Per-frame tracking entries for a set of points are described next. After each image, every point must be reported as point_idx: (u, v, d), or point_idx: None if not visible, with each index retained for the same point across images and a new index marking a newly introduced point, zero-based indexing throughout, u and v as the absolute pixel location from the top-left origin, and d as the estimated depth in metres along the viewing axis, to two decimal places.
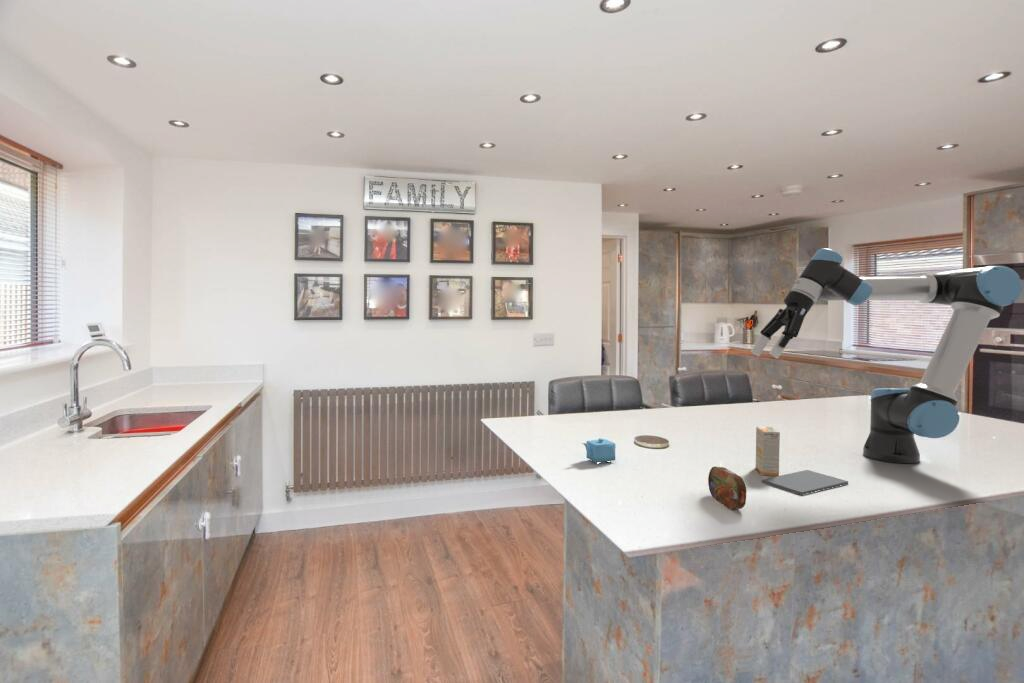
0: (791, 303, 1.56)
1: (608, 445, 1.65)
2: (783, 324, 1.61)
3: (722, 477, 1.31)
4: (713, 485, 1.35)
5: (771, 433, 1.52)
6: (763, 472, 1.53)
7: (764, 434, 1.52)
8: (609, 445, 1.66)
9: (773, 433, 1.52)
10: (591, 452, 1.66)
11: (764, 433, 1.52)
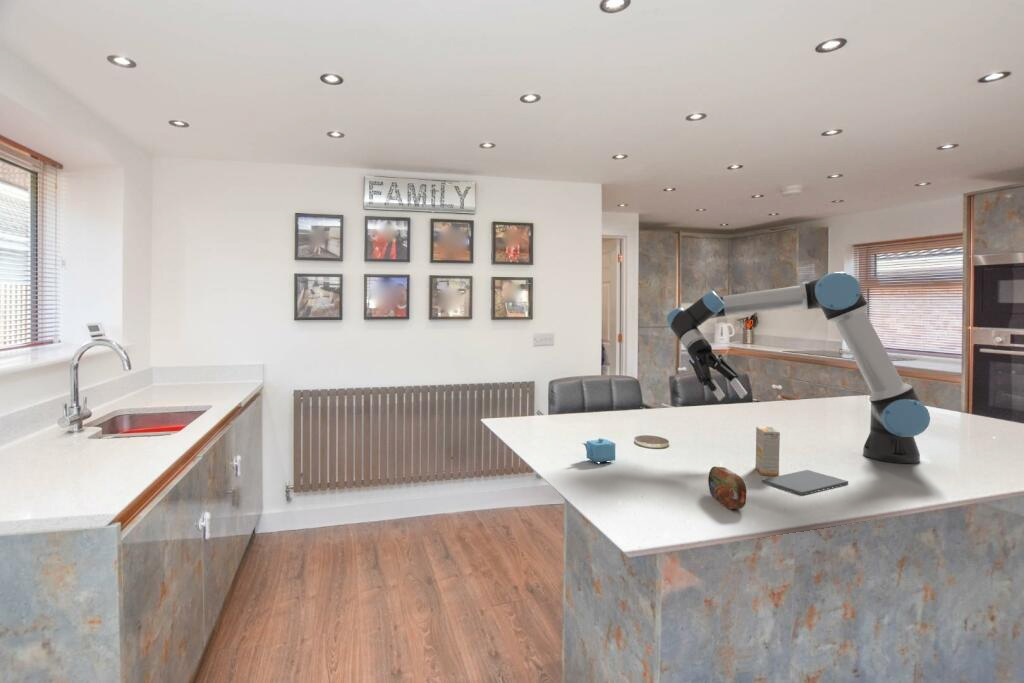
0: None
1: (608, 445, 1.65)
2: (718, 364, 1.75)
3: (722, 477, 1.31)
4: (713, 485, 1.35)
5: (771, 433, 1.52)
6: (763, 472, 1.53)
7: (764, 434, 1.52)
8: (609, 445, 1.66)
9: (773, 433, 1.52)
10: (591, 452, 1.66)
11: (764, 433, 1.52)
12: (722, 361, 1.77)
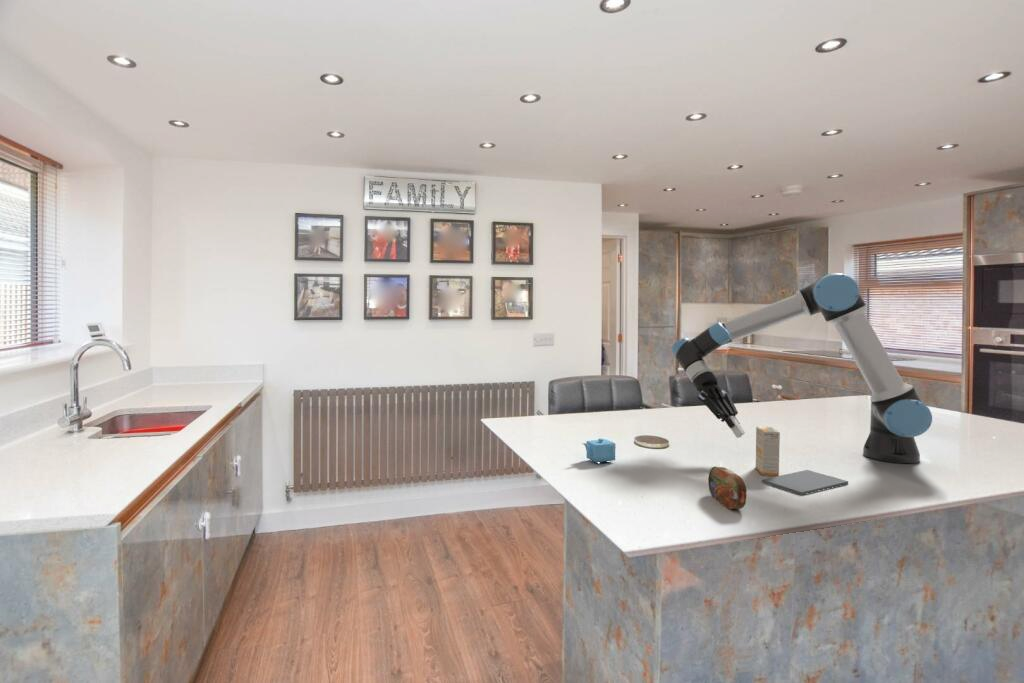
0: None
1: (608, 445, 1.65)
2: (720, 398, 1.72)
3: (722, 477, 1.31)
4: (713, 485, 1.35)
5: (771, 433, 1.52)
6: (763, 472, 1.53)
7: (764, 434, 1.52)
8: (609, 445, 1.66)
9: (773, 433, 1.52)
10: (591, 452, 1.66)
11: (764, 433, 1.52)
12: (726, 396, 1.74)
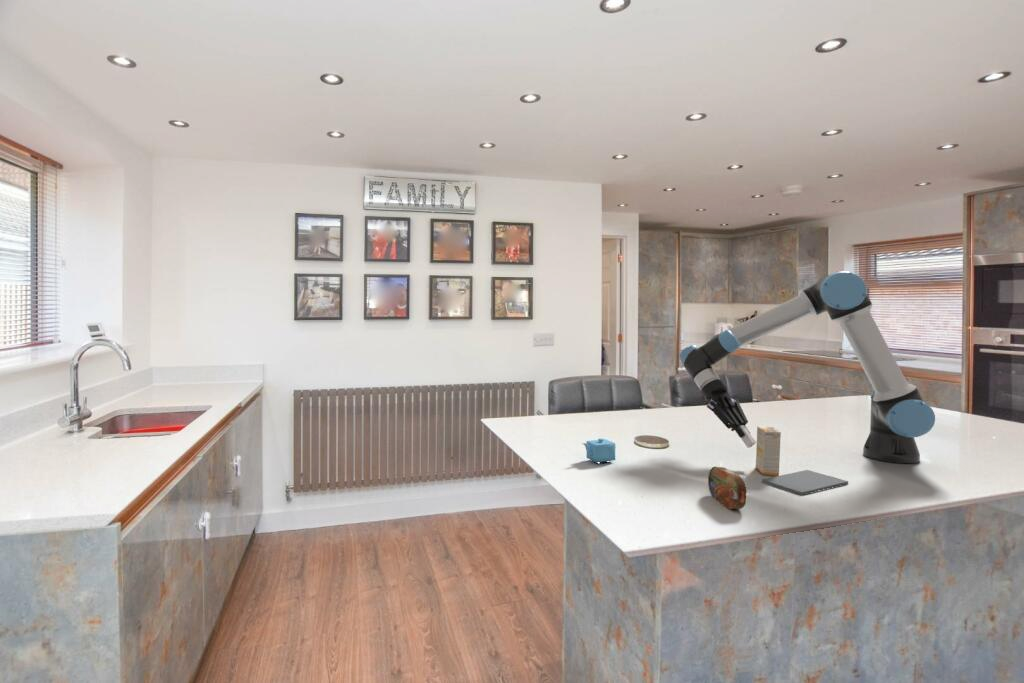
0: None
1: (608, 445, 1.65)
2: (730, 407, 1.69)
3: (722, 477, 1.31)
4: (713, 485, 1.35)
5: (772, 433, 1.52)
6: (763, 472, 1.53)
7: (765, 434, 1.52)
8: (609, 445, 1.66)
9: (774, 433, 1.52)
10: (591, 452, 1.66)
11: (765, 433, 1.52)
12: (736, 405, 1.71)
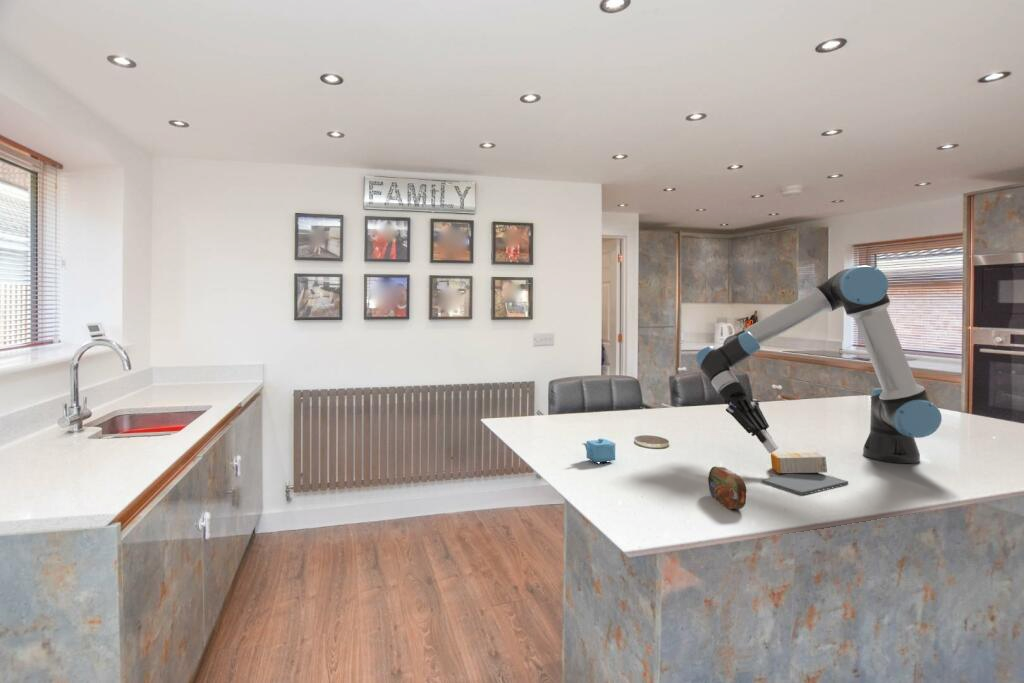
0: None
1: (608, 445, 1.65)
2: (750, 410, 1.62)
3: (722, 477, 1.31)
4: (713, 485, 1.35)
5: (824, 464, 1.50)
6: (779, 458, 1.52)
7: (822, 458, 1.50)
8: (609, 445, 1.66)
9: (825, 466, 1.49)
10: (591, 452, 1.66)
11: (823, 457, 1.50)
12: (755, 408, 1.64)
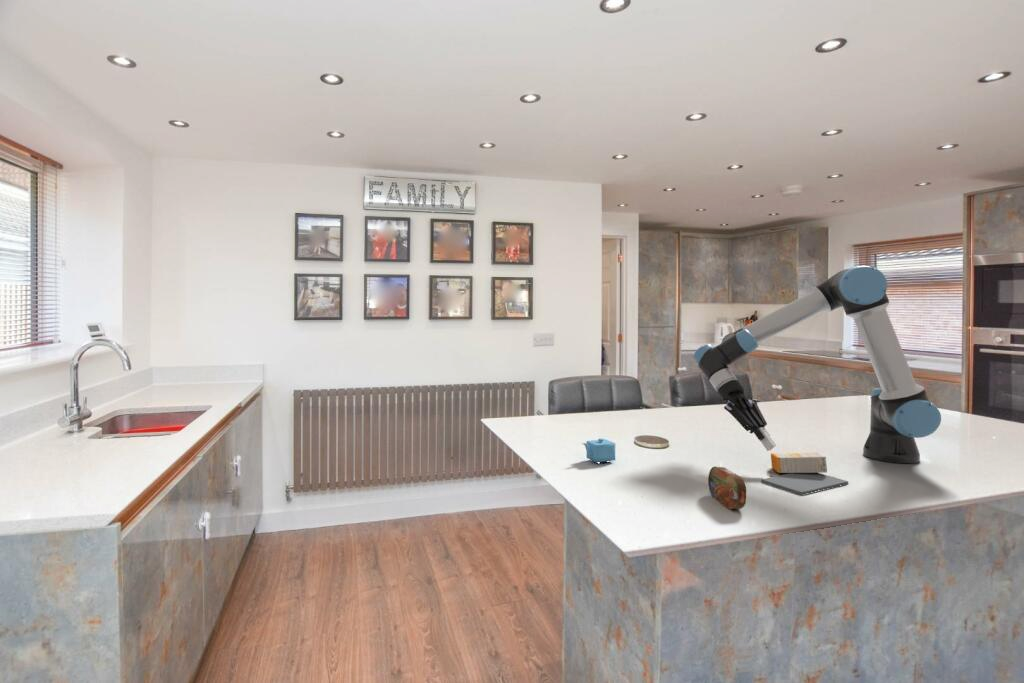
0: None
1: (608, 445, 1.65)
2: (748, 408, 1.62)
3: (722, 477, 1.31)
4: (713, 485, 1.35)
5: (824, 464, 1.50)
6: (779, 458, 1.53)
7: (822, 458, 1.50)
8: (609, 445, 1.66)
9: (825, 466, 1.50)
10: (591, 452, 1.66)
11: (823, 457, 1.50)
12: (753, 406, 1.65)
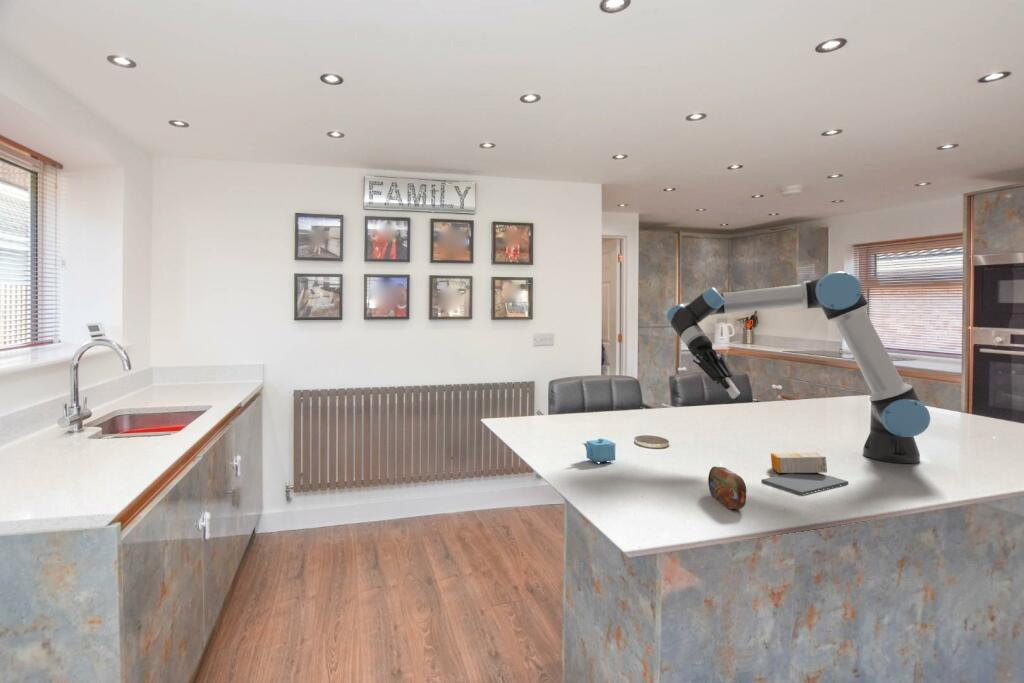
0: None
1: (608, 445, 1.65)
2: (715, 361, 1.74)
3: (722, 477, 1.31)
4: (713, 485, 1.35)
5: (824, 464, 1.50)
6: (779, 458, 1.53)
7: (822, 458, 1.50)
8: (609, 445, 1.66)
9: (825, 466, 1.50)
10: (591, 452, 1.66)
11: (823, 457, 1.50)
12: (721, 359, 1.76)
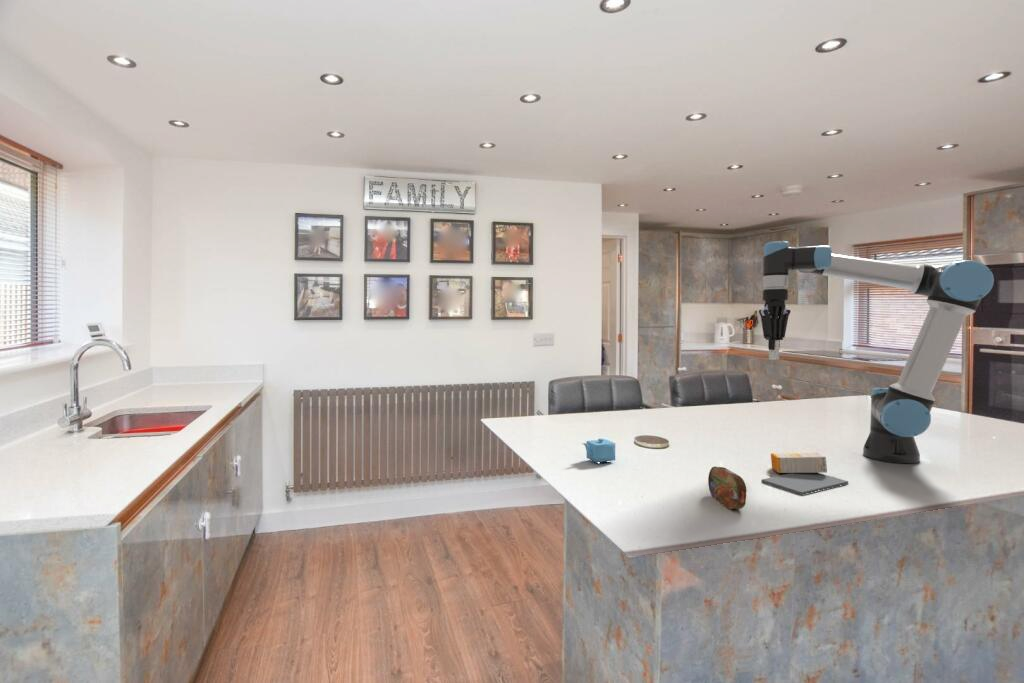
0: None
1: (608, 445, 1.65)
2: (778, 318, 1.72)
3: (722, 477, 1.31)
4: (713, 485, 1.35)
5: (824, 464, 1.50)
6: (779, 458, 1.53)
7: (822, 458, 1.50)
8: (609, 445, 1.66)
9: (825, 466, 1.50)
10: (591, 452, 1.66)
11: (823, 457, 1.50)
12: (784, 316, 1.74)
